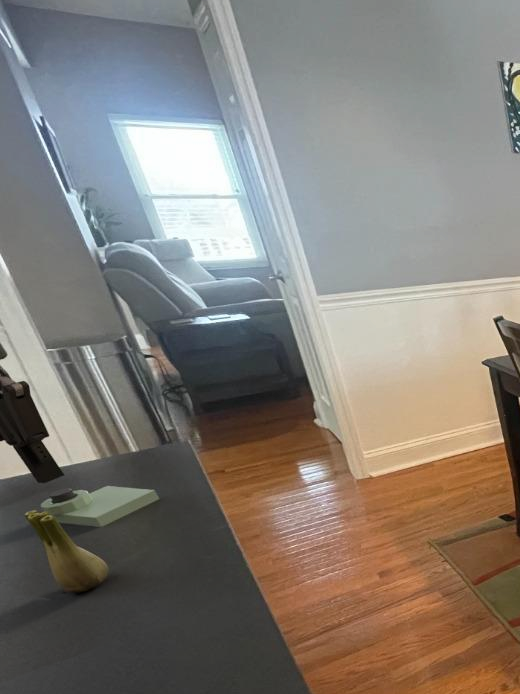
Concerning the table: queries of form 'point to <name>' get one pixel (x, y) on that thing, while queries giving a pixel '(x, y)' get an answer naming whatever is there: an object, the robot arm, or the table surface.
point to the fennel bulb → (67, 556)
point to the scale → (99, 505)
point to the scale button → (62, 495)
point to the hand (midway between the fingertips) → (51, 478)
